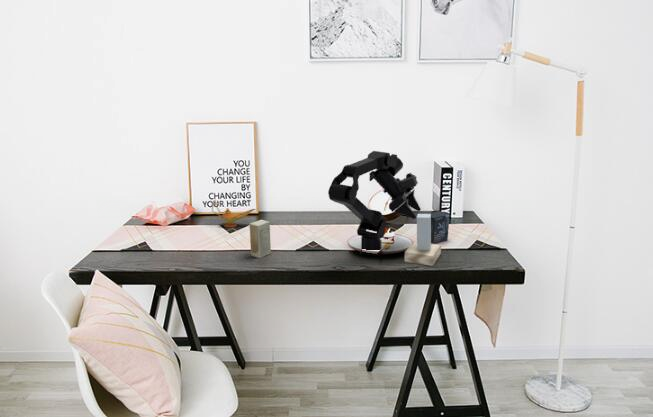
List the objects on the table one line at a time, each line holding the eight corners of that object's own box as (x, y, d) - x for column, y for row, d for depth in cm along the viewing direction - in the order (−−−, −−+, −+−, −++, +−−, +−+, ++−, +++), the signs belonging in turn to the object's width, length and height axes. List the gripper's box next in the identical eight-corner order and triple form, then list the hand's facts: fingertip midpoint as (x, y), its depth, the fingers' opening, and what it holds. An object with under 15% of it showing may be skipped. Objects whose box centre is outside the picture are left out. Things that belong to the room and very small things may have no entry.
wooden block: (404, 262, 216) (404, 252, 215) (413, 251, 226) (413, 241, 225) (432, 267, 212) (433, 256, 211) (440, 255, 223) (441, 245, 221)
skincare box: (262, 250, 225) (261, 218, 221) (271, 253, 222) (270, 221, 219) (250, 255, 220) (248, 223, 217) (258, 258, 218) (257, 225, 214)
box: (433, 244, 232) (434, 217, 229) (422, 240, 237) (424, 213, 234) (448, 240, 237) (450, 214, 234) (437, 236, 241) (439, 210, 238)
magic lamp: (256, 227, 251) (255, 201, 247) (211, 228, 249) (210, 202, 246) (257, 222, 257) (256, 196, 254) (213, 223, 256) (212, 197, 253)
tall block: (417, 250, 216) (416, 217, 213) (418, 246, 220) (417, 213, 217) (430, 250, 215) (430, 217, 212) (430, 246, 219) (430, 213, 216)
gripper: (398, 174, 210) (430, 208, 210) (409, 162, 227) (438, 193, 227) (376, 194, 215) (406, 227, 215) (387, 181, 232) (416, 211, 232)
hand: (417, 214), depth 222 cm, fingers open, 9 cm apart
